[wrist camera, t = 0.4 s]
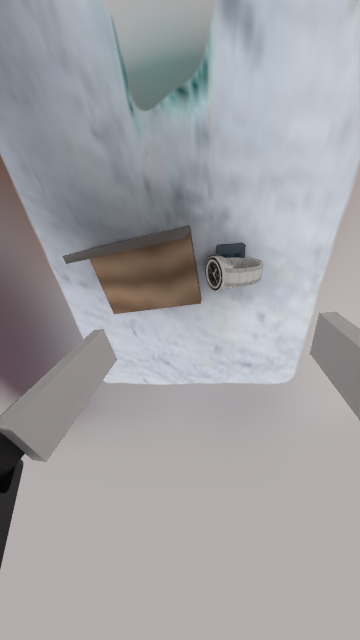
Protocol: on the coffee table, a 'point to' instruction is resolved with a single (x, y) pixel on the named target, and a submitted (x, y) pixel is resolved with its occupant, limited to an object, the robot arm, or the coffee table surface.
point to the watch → (232, 268)
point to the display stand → (146, 271)
